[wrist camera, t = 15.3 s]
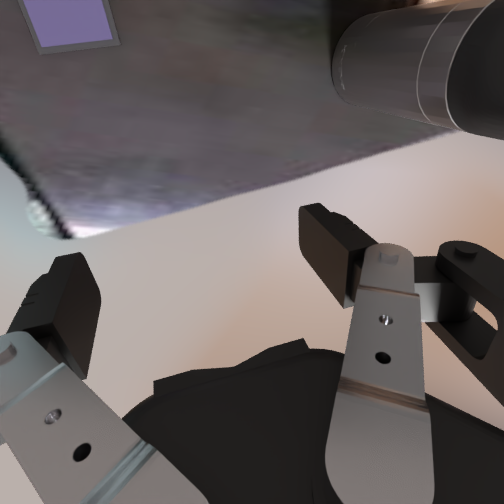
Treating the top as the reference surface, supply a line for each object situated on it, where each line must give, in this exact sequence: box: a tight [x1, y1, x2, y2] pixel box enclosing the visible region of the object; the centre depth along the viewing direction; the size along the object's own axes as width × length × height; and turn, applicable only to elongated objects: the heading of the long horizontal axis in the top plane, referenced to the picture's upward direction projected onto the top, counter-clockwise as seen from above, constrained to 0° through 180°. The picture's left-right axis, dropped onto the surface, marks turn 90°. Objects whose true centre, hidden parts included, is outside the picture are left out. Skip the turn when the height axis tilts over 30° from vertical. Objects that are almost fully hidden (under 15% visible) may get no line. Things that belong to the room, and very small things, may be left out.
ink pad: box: [18, 0, 121, 55], centre depth 27 cm, size 7×7×1 cm
